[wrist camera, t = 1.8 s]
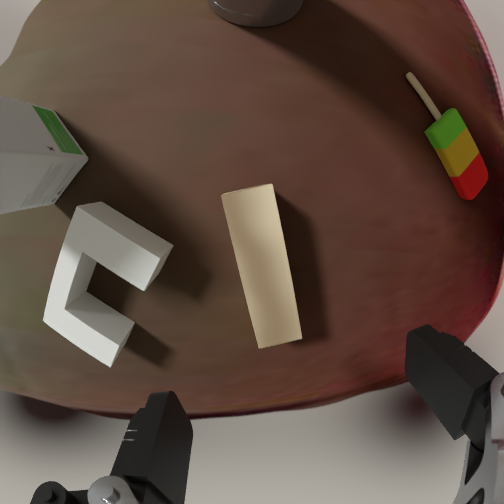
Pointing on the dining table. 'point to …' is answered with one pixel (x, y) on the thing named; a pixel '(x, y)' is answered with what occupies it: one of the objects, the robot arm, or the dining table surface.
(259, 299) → the beige wooden block
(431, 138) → the popsicle
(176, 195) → the dining table surface
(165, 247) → the end cap
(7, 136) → the skincare box
